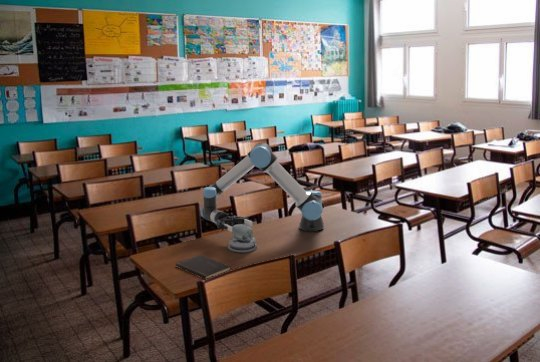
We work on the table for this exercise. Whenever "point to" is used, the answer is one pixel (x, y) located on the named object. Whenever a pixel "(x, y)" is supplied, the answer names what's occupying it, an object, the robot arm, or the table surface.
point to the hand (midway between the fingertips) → (242, 226)
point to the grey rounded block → (242, 232)
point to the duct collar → (242, 246)
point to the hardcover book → (203, 266)
